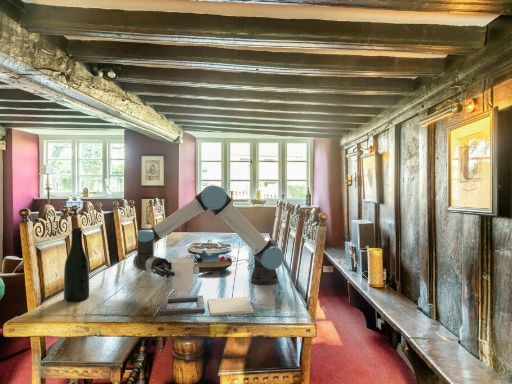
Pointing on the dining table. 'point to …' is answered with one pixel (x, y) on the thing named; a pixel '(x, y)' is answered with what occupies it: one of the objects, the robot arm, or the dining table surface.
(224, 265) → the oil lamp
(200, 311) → the dark grey square frame
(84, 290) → the dark wine bottle
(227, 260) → the glasses
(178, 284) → the candle holder
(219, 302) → the cream tile
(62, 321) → the dining table surface
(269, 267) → the robot arm
